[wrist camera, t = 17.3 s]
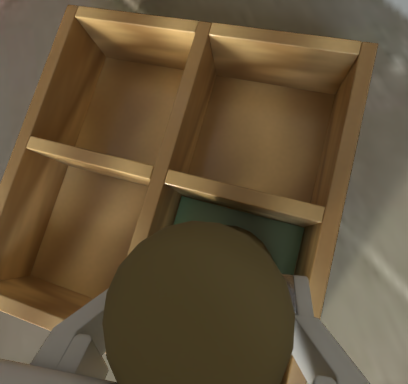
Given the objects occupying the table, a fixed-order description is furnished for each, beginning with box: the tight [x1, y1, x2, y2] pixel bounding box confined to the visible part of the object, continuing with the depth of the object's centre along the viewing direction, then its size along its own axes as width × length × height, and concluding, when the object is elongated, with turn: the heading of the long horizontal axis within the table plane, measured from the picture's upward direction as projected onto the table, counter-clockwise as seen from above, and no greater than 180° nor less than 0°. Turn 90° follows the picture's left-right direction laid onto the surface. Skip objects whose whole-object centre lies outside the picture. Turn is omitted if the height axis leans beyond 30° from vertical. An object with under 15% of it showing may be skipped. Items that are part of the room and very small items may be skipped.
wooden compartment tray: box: [0, 5, 378, 384], centre depth 17 cm, size 18×18×5 cm
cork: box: [102, 221, 295, 384], centre depth 11 cm, size 6×6×11 cm
